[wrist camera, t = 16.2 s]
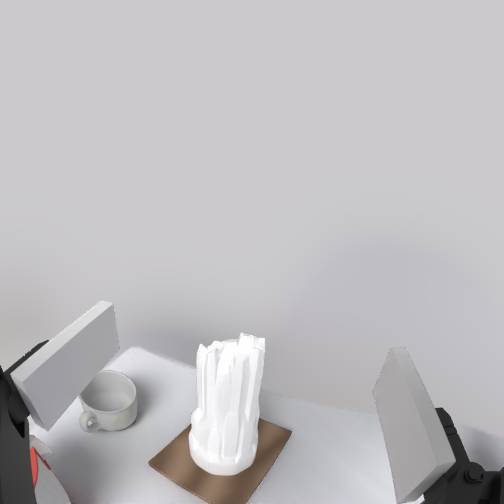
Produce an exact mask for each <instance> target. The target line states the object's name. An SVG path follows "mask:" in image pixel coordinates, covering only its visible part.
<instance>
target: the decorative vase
mask: <svg viewBox="0 0 504 504" xmlns="http://www.w3.org/2000/svg"><path fill="white" fill-rule="evenodd" d="M264 354H265V338H258V337H256V336H254V337H253V335H246V334H245V333H243V332H241V334H240V336H239V339H228V340H225V341H222V343H221V342H219V341H214V342H213V343H212V345H210V346H208V347H206V346H205V345H203V344H200V346H199V349H198V352H197V395H198V407H197V409H195V410H194V411H193V412H192V413H191V423H192V429H191V431H190V433H189V447H190V454H191V457H192V458H193V460H194V461H195V463H196V464H197V465H198V466H199V467H201V468H202V469H204V470H205V471H207V472H208V473H211V474H214V475H223V476H229V475H236V474H238V473H240V472H242V471H243V470H245V469H247V468H248V467H250V466H251V465H252V464H253V462H254V460H255V457H256V451H257V446H258V428H257V425H258V420H259V414H260V404H259V393H260V387H261V380H262V375H263V368H264V367H263V365H264Z"/></svg>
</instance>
